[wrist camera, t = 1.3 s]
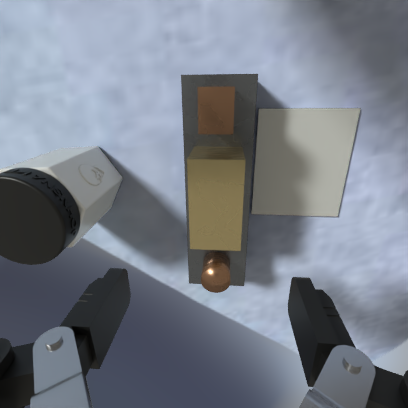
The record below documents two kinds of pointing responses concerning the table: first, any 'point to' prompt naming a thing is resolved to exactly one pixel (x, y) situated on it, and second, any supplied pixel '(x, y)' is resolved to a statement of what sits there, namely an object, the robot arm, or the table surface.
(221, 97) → the body
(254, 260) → the table surface
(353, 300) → the table surface
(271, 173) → the felt mat
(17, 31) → the table surface
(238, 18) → the table surface
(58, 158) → the jar
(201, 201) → the lever cap
